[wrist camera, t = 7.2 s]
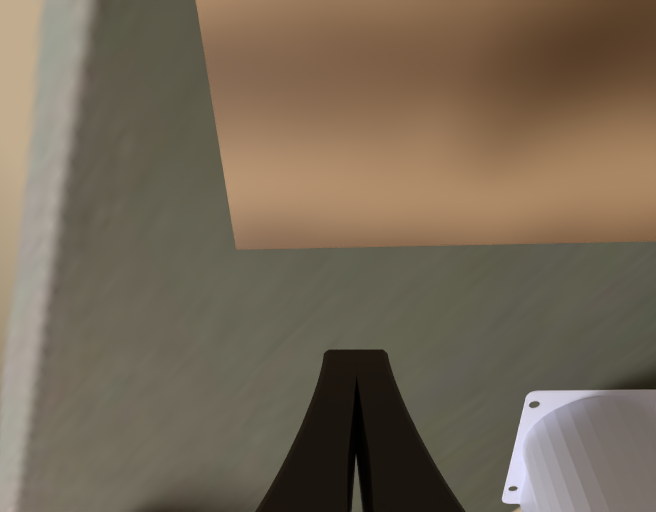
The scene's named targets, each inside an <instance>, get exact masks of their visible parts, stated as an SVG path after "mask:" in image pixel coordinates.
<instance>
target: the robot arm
mask: <svg viewBox="0 0 656 512" xmlns="http://www.w3.org/2000/svg"><path fill="white" fill-rule="evenodd" d="M532 401H538V402H540V405H539V406H538V407H536V408H531V407H529V404H530V403H531V402H532ZM356 457H357V466H358V475H359V484H360V493H361V502H362V511H363V512H465V510H464V509H463V507H462V506H461V504H460V503H459V502H458V500H457V498H456V497H455V495H454V494H453V492H452V491H451V489H450V488H449V486H448V485H447V483H446V481H445V480H444V478H443V476H442V475H441V473H440V471H439V470H438V468H437V466H436V465H435V463H434V461H433V459H432V458H431V456H430V454H429V452H428V450H427V449H426V447H425V445H424V443H423V441H422V439H421V437H420V435H419V433H418V431H417V429H416V427H415V425H414V423H413V421H412V419H411V417H410V415H409V413H408V411H407V408H406V406H405V404H404V402H403V399H402V397H401V394H400V392H399V389H398V387H397V384H396V381H395V379H394V376H393V373H392V370H391V366H390V363H389V359H388V354H387V353H386V352H385V351H384V350H328V351H326V352H325V353H324V357H323V363H322V368H321V372H320V376H319V379H318V383H317V386H316V389H315V392H314V395H313V397H312V400H311V403H310V405H309V408H308V410H307V413H306V415H305V418H304V420H303V423H302V425H301V427H300V430H299V432H298V434H297V436H296V438H295V440H294V442H293V444H292V447H291V449H290V451H289V453H288V455H287V457H286V459H285V461H284V463H283V465H282V467H281V469H280V470H279V472H278V474H277V476H276V478H275V480H274V481H273V483H272V485H271V487H270V488H269V490H268V492H267V493H266V495H265V497H264V499H263V500H262V502H261V503H260V505H259V507H258V508H257V510H256V511H255V512H351V511H352V498H353V485H354V472H355V458H356ZM511 486H517V487H518V489H517V490H515V491H509V490H508V488H509V487H511ZM502 501H503V502H505V503H509V504H520V507H521V510H522V512H656V390H549V391H533V392H530V393H529V394H528V395H527V397H526V400H525V404H524V408H523V412H522V416H521V421H520V425H519V429H518V433H517V438H516V442H515V446H514V450H513V454H512V459H511V463H510V467H509V471H508V475H507V480H506V484H505V488H504V492H503V496H502Z"/></svg>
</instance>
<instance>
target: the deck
mask: <svg viewBox="0 0 656 512" xmlns="http://www.w3.org/2000/svg"><path fill="white" fill-rule="evenodd" d="M196 5H197V11H198V17H199V23H200V29H201V36H202V42H203V48H204V54H205V60H206V66H207V73H208V79H209V85H210V91H211V97H212V103H213V110H214V116H215V122H216V128H217V134H218V140H219V147H220V153H221V159H222V165H223V171H224V177H225V183H226V190H227V196H228V202H229V208H230V214H231V220H232V227H233V233H234V239H235V245H236V250H239V249H289V248H339V247H388V246H438V245H488V244H538V243H587V242H637V241H656V0H196Z"/></svg>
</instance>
